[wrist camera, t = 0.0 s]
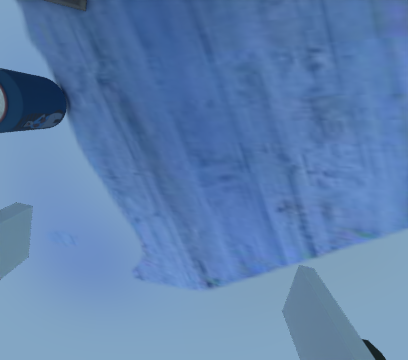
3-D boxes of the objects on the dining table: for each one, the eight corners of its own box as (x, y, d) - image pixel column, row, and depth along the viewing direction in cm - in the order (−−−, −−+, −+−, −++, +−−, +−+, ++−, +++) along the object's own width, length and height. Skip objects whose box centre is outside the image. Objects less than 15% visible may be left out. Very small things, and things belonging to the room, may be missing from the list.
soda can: (24, 71, 38) (-58, 53, 26) (73, 84, 38) (14, 72, 26) (20, 121, 39) (-59, 124, 28) (67, 133, 39) (8, 141, 28)
